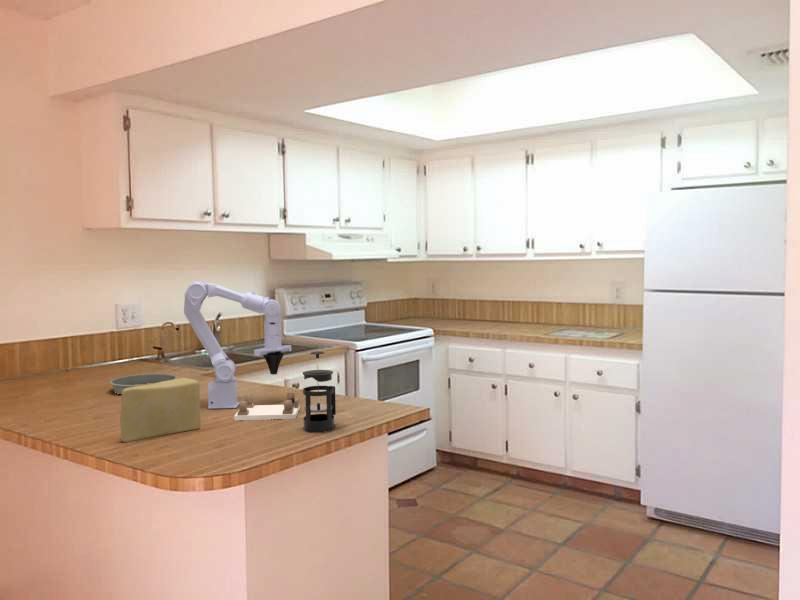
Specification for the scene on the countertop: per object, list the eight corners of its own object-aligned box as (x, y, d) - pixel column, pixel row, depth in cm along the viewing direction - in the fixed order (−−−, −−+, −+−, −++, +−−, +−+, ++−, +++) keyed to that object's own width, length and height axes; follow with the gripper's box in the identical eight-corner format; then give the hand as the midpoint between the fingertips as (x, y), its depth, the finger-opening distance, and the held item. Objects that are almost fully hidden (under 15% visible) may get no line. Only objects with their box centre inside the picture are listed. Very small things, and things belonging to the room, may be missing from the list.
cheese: (130, 445, 180) (128, 391, 179) (114, 439, 187) (111, 387, 186) (202, 429, 197) (200, 379, 196) (185, 423, 203) (183, 375, 202)
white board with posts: (234, 420, 206) (233, 403, 206) (242, 410, 220) (241, 393, 219) (295, 419, 207) (295, 401, 207) (299, 408, 221) (299, 392, 220)
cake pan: (164, 397, 243) (163, 384, 243) (98, 397, 244) (97, 385, 243) (186, 383, 268) (186, 372, 267) (126, 384, 268) (126, 373, 268)
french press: (317, 435, 188) (315, 355, 187) (294, 430, 194) (292, 352, 193) (345, 426, 198) (343, 350, 196) (322, 421, 203) (321, 347, 202)
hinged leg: (292, 410, 212) (292, 398, 211) (285, 410, 211) (285, 398, 211) (294, 404, 220) (294, 392, 220) (287, 404, 220) (287, 393, 219)
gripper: (262, 338, 219) (263, 378, 220) (296, 333, 230) (297, 372, 231) (249, 336, 224) (251, 376, 225) (284, 332, 235) (284, 370, 236)
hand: (273, 374), depth 228 cm, fingers closed
